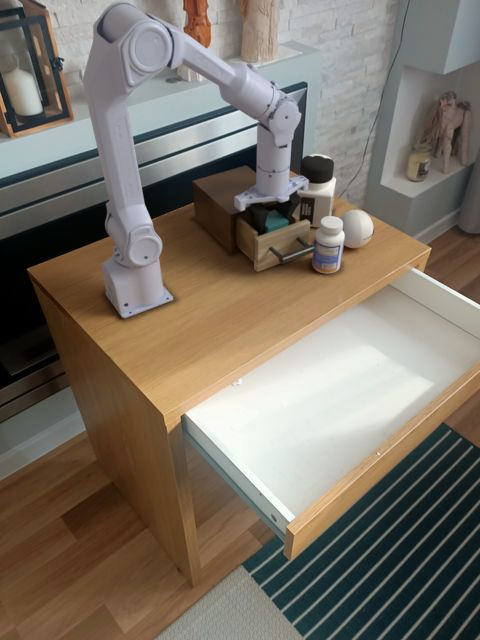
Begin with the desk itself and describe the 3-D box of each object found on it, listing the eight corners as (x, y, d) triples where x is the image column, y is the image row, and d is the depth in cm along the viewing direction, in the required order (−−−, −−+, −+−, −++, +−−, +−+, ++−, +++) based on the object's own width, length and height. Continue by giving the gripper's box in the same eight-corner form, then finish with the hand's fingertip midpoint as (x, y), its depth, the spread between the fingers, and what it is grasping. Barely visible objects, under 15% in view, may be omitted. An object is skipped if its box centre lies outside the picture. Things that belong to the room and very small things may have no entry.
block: (267, 248, 102) (268, 227, 99) (254, 237, 105) (254, 216, 102) (287, 241, 104) (288, 220, 101) (273, 230, 107) (274, 209, 104)
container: (328, 229, 114) (335, 170, 104) (291, 224, 115) (295, 165, 105) (332, 210, 119) (339, 152, 110) (296, 205, 120) (301, 147, 111)
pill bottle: (321, 254, 108) (326, 209, 101) (345, 264, 105) (352, 219, 99) (306, 267, 104) (310, 222, 98) (330, 278, 102) (337, 233, 95)
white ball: (355, 260, 106) (361, 227, 101) (325, 244, 110) (329, 211, 105) (386, 240, 111) (392, 208, 106) (356, 225, 115) (362, 193, 110)
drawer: (322, 265, 104) (326, 234, 99) (272, 285, 99) (273, 254, 94) (268, 220, 114) (269, 190, 109) (220, 236, 110) (219, 205, 105)
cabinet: (284, 234, 112) (286, 196, 106) (231, 253, 107) (230, 214, 101) (246, 202, 120) (246, 165, 114) (195, 218, 115) (192, 180, 109)
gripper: (249, 185, 89) (249, 255, 98) (321, 163, 95) (314, 231, 104) (227, 167, 93) (229, 236, 103) (297, 147, 99) (292, 214, 108)
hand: (270, 232), depth 104 cm, fingers closed on block, 4 cm apart
